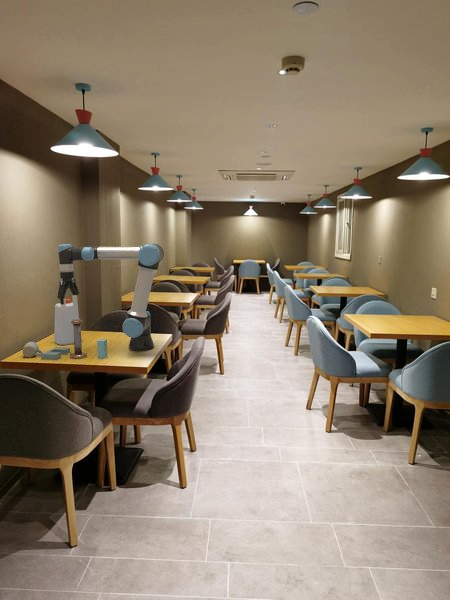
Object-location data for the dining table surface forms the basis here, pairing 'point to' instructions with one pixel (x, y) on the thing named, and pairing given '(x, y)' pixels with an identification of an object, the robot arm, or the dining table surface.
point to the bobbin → (77, 340)
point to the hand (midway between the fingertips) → (69, 308)
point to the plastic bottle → (65, 323)
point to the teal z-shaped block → (55, 353)
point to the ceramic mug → (31, 350)
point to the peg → (102, 348)
